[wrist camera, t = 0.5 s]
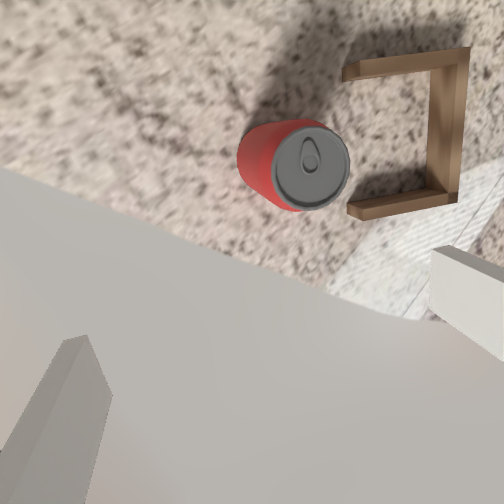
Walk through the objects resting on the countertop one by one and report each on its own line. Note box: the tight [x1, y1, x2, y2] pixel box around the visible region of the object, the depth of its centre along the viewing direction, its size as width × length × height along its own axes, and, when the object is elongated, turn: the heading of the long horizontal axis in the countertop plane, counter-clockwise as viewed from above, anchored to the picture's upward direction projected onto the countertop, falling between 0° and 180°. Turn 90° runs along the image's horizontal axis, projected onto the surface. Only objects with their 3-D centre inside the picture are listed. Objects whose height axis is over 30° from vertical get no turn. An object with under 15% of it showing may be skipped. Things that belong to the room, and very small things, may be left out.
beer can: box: [237, 119, 350, 212], centre depth 27 cm, size 7×7×12 cm
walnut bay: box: [342, 47, 471, 221], centre depth 33 cm, size 14×11×4 cm
